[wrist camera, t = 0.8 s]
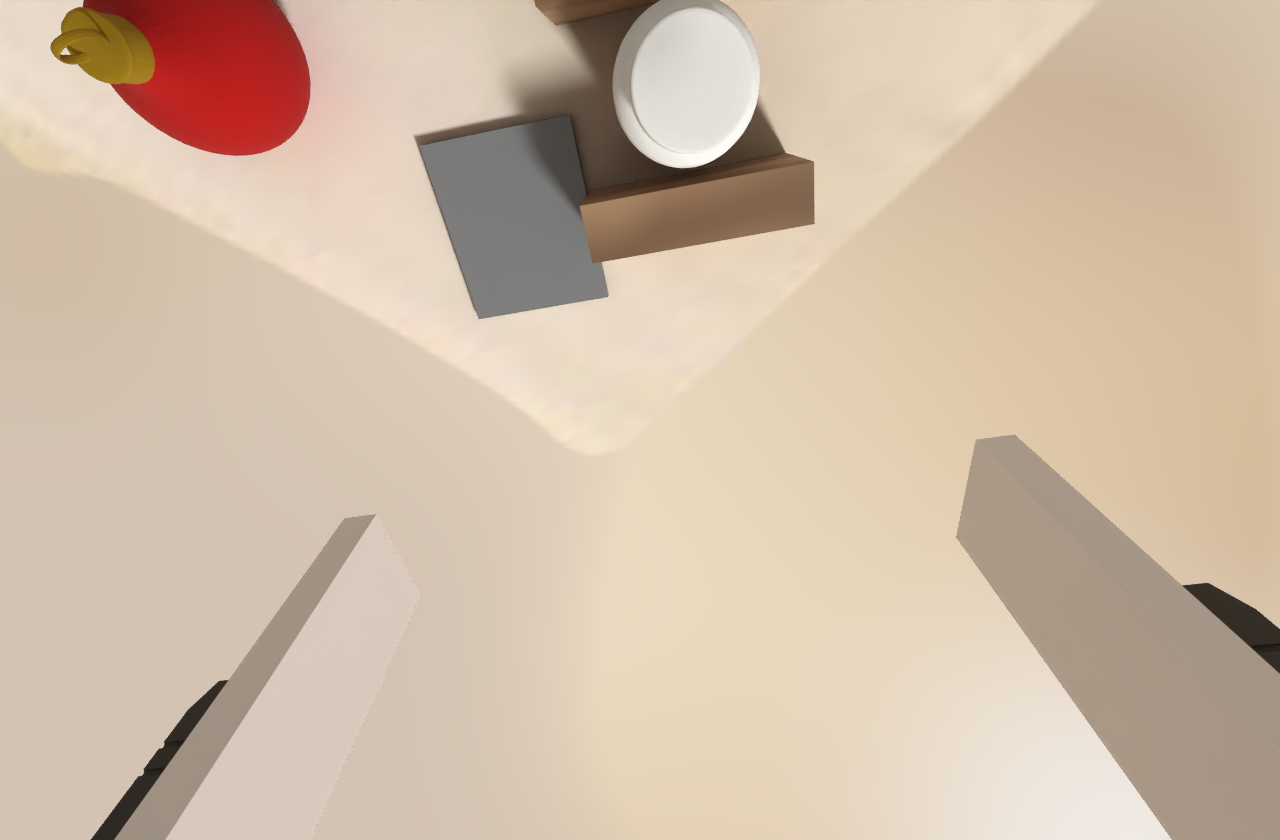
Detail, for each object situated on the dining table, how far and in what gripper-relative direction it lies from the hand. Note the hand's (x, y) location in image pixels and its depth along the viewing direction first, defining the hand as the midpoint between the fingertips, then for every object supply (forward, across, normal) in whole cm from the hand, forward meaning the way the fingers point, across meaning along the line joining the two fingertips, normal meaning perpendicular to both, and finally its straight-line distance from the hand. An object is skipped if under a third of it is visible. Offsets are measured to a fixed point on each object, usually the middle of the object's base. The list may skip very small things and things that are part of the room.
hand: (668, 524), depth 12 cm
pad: (+20, -7, +4) cm, 22 cm away
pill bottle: (+21, +2, +8) cm, 22 cm away
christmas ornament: (+21, -17, +12) cm, 29 cm away
